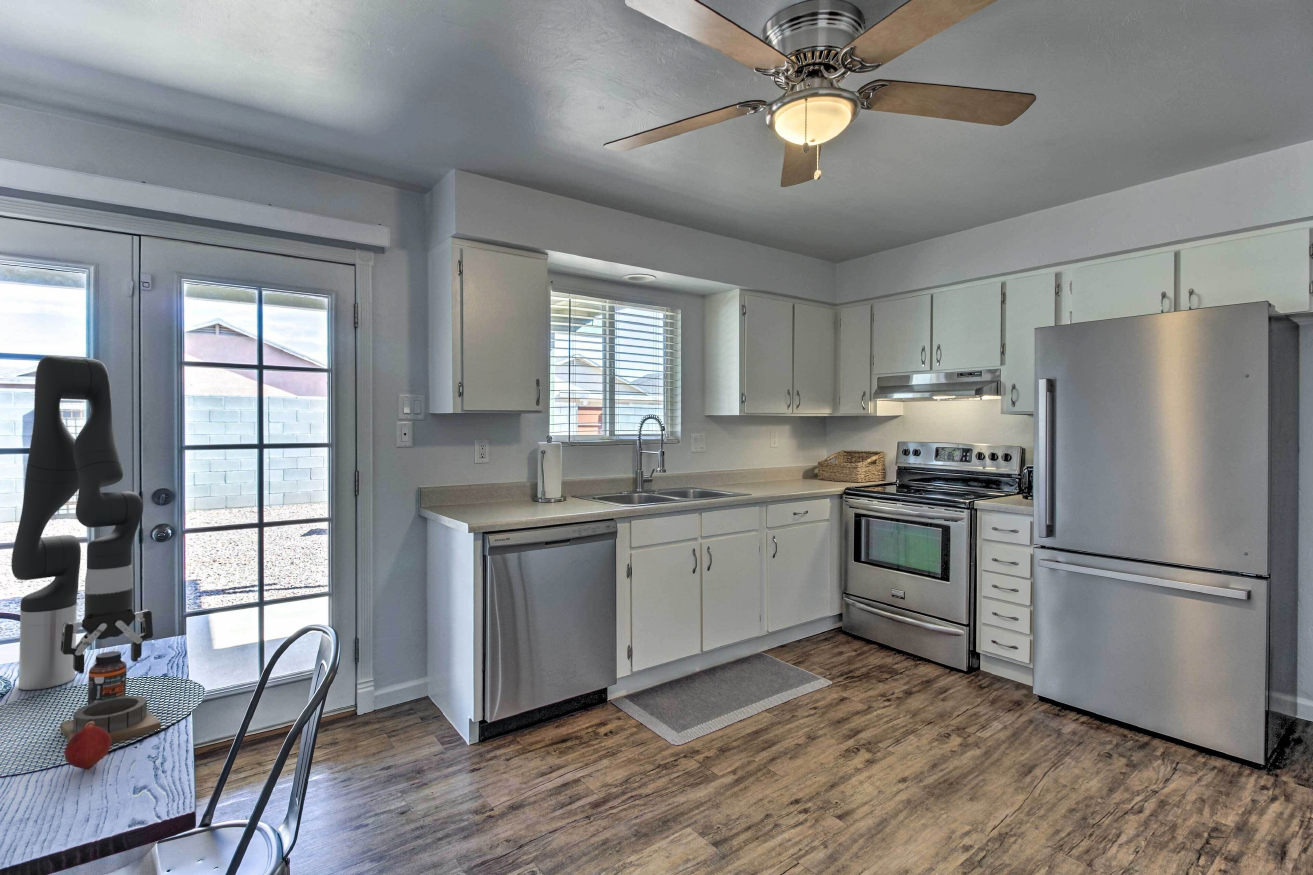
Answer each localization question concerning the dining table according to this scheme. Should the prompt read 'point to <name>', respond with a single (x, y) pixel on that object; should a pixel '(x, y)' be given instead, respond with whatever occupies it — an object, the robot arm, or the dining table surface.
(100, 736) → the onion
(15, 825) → the dining table surface
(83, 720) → the ring holder
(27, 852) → the dining table surface
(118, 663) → the supplement bottle
